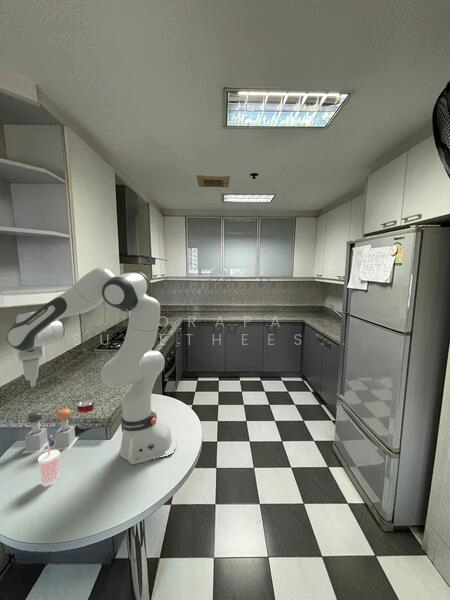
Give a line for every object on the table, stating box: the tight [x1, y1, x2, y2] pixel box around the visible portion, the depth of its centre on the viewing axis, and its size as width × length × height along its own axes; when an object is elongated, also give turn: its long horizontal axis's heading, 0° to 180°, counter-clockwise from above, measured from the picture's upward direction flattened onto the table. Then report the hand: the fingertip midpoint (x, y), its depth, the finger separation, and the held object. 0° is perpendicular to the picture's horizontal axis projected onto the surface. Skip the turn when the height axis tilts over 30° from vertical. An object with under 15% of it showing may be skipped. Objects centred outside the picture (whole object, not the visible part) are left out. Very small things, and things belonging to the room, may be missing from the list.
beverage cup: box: [37, 441, 61, 487], centre depth 84 cm, size 6×6×14 cm
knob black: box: [27, 410, 43, 435], centre depth 101 cm, size 5×5×9 cm
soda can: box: [76, 399, 95, 414], centre depth 116 cm, size 7×7×12 cm
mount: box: [20, 425, 80, 455], centre depth 102 cm, size 18×8×7 cm, turn 98°
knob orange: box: [56, 408, 71, 432], centre depth 103 cm, size 5×5×9 cm
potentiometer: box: [47, 434, 55, 447], centre depth 102 cm, size 2×2×4 cm
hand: (33, 384), depth 100 cm, fingers open, 3 cm apart
